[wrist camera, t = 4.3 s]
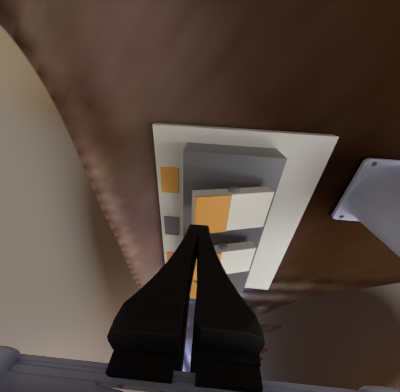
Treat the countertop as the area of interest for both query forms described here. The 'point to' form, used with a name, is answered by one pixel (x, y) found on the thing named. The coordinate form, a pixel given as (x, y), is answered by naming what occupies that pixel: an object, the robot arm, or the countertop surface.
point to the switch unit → (239, 184)
